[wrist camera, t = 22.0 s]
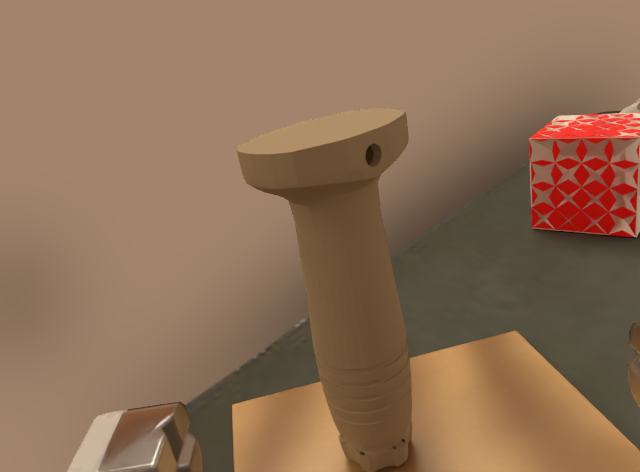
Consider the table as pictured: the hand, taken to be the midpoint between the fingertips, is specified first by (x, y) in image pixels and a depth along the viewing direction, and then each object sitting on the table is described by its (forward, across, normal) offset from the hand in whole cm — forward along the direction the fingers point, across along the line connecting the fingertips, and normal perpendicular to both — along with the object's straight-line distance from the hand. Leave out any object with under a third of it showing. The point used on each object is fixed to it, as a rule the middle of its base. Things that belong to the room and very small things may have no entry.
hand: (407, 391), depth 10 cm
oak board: (+12, -1, +13) cm, 17 cm away
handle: (+11, +1, +12) cm, 17 cm away
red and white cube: (+35, -22, +13) cm, 43 cm away
